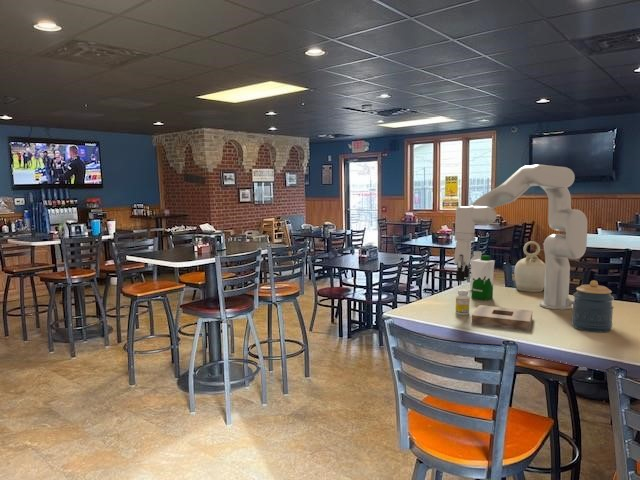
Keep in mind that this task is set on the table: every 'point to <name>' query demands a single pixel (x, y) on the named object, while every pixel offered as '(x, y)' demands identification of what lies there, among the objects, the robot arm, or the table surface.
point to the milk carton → (482, 278)
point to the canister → (592, 308)
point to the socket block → (502, 317)
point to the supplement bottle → (462, 302)
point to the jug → (530, 271)
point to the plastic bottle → (476, 256)
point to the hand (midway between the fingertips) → (462, 278)
